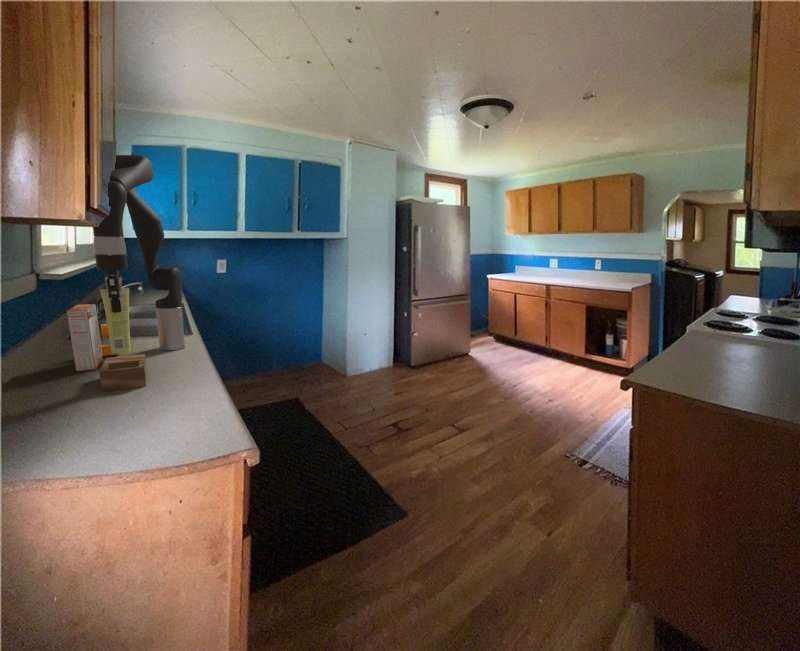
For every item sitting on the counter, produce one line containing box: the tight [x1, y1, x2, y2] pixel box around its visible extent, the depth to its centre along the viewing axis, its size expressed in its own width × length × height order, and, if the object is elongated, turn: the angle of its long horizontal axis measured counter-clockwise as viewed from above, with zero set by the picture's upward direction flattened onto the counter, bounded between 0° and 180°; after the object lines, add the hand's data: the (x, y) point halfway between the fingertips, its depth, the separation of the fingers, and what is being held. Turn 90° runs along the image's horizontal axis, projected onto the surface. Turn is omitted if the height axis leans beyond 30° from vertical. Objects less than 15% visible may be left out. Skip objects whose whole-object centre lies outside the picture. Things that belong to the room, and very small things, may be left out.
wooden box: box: [99, 353, 148, 393], centre depth 128 cm, size 16×11×6 cm
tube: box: [99, 287, 132, 355], centre depth 122 cm, size 6×5×20 cm
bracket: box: [100, 323, 120, 357], centre depth 157 cm, size 11×7×12 cm, turn 37°
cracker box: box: [66, 303, 104, 372], centre depth 141 cm, size 14×6×21 cm, turn 27°
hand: (117, 310), depth 122 cm, fingers closed on tube, 4 cm apart
